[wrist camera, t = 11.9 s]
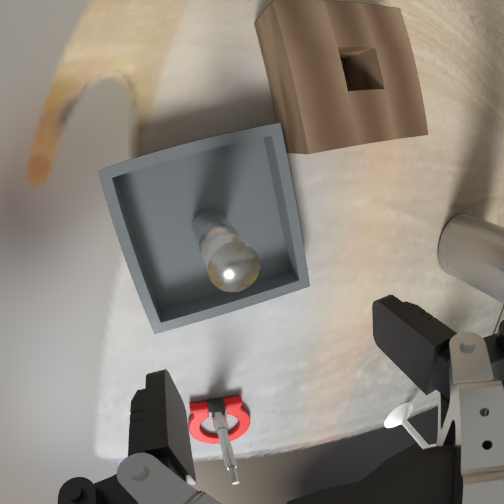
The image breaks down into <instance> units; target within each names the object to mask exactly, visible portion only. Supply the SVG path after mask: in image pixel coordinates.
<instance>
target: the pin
mask: <svg viewBox="0 0 504 504" xmlns="http://www.w3.org/2000/svg"><path fill="white" fill-rule="evenodd" d="M192 231H193V234H194V236H195V239H196V242H197V245H198V248H199V250H200V253H201V256H202V259H203V261H204V264H205V267H206V270H207V272H208V275H209V278H210V280H211V282H212V283H213V284H214V285H215V286H216V287H217V288H219V289H221V290H223V291H226V292H238V291H242V290H244V289H246V288H248V287H249V286H250V285H251V284H252V283H253V282H254V281H255V280H256V278H257V276H258V274H259V271H260V260H259V256H258V254H257V253H256V251H255V250H254V249H253V248H252V247H251V246H250V244H249V243H248V242H247V241H246V240H245V239H244V238H243V237H242V236H241V235H240V234H239V233H238V232H237V231H236V229H235V228H234V227H233V226H232V225H231V224H230V223H229V222H228V221H227V220H226V219H225V218H224V217H223V216H222V214H221V213H219V212H218V211H216V210H214V209H204V210H201V211H200V212H198V213H197V214H196V215H195V217H194V218H193V221H192Z"/></svg>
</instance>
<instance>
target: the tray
mask: <svg viewBox="0 0 504 504" xmlns="http://www.w3.org/2000/svg"><path fill="white" fill-rule="evenodd" d="M98 173H99V176H100V180H101V184H102V187H103V191H104V194H105V198H106V201H107V204H108V208H109V211H110V214H111V217H112V221H113V224H114V227H115V230H116V233H117V236H118V239H119V242H120V245H121V248H122V251H123V254H124V257H125V260H126V263H127V265H128V268H129V271H130V274H131V276H132V279H133V282H134V284H135V287H136V290H137V292H138V295H139V297H140V300H141V302H142V305H143V307H144V310H145V312H146V315H147V317H148V320H149V322H150V324H151V327H152V329H153V331H154V334H157V333H160V332H164V331H167V330H171V329H174V328H178V327H181V326H185V325H188V324H192V323H195V322H199V321H202V320H205V319H209V318H212V317H215V316H219V315H222V314H225V313H229V312H232V311H235V310H238V309H242V308H245V307H248V306H251V305H254V304H257V303H261V302H264V301H267V300H270V299H273V298H276V297H279V296H282V295H285V294H288V293H291V292H294V291H297V290H300V289H303V288H306V287H309V286H310V283H309V276H308V270H307V264H306V257H305V251H304V245H303V239H302V233H301V227H300V222H299V216H298V210H297V205H296V199H295V194H294V189H293V183H292V178H291V173H290V168H289V163H288V158H287V153H286V148H285V143H284V138H283V133H282V129H281V124H280V123H276V124H271V125H266V126H260V127H255V128H250V129H246V130H241V131H236V132H232V133H227V134H223V135H218V136H214V137H210V138H206V139H202V140H198V141H194V142H190V143H186V144H182V145H178V146H175V147H171V148H167V149H164V150H160V151H157V152H154V153H150V154H147V155H143V156H140V157H137V158H134V159H130V160H127V161H124V162H121V163H118V164H115V165H112V166H109V167H106V168H103V169H101V170H98ZM204 209H214V210H216V211H218V212H219V213H221V214H222V216H223V217H224V218H225V219H226V220H227V221H228V222H229V223H230V224H231V225H232V226H233V227H234V228H235V229H236V231H237V232H238V233H239V234H240V235H241V236H242V237H243V238H244V239H245V240H246V241H247V242H248V243H249V244H250V246H251V247H252V248H253V249H254V250H255V251H256V253H257V254H258V256H259V260H260V271H259V274H258V276H257V278H256V280H255V281H254V282H253V283H252V284H251V285H250V286H249V287H248V288H246V289H244V290H242V291H238V292H226V291H223V290H221V289H219V288H217V287H216V286H215V285H214V284H213V283H212V282H211V280H210V278H209V275H208V272H207V270H206V267H205V264H204V261H203V259H202V256H201V253H200V250H199V248H198V245H197V242H196V239H195V236H194V234H193V231H192V221H193V218H194V217H195V215H196V214H197V213H198V212H200V211H201V210H204Z"/></svg>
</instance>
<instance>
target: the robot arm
mask: <svg viewBox="0 0 504 504" xmlns="http://www.w3.org/2000/svg"><path fill="white" fill-rule="evenodd" d="M438 259H439V263H440V266H441V268H442V269H443V270H444V271H445V272H447V273H449V274H450V275H452V276H454V277H456V278H458V279H460V280H462V281H463V282H465V283H467V284H469V285H471V286H472V287H474V288H476V289H478V290H480V291H482V292H483V293H485V294H487V295H489V296H491V297H492V298H494V299H496V300H498V301H499V302H501V303H503V304H504V227H502V226H499V225H496V224H493V223H490V222H487V221H485V220H482V219H479V218H476V217H472V216H469V215H466V214H459V215H456V216H455V217H453V218H452V219H451V220H450V221H449V222H448V224H447V225H446V227H445V229H444V231H443V233H442V236H441V239H440V243H439V249H438ZM372 309H373V336H374V340H375V342H376V344H377V346H378V347H379V348H380V349H381V350H382V351H383V352H384V353H385V354H386V355H387V356H388V357H389V358H390V359H391V360H392V361H393V362H394V363H395V364H396V365H397V366H398V367H399V368H400V369H401V370H402V371H403V372H404V373H405V374H406V375H407V376H408V377H409V378H410V379H411V380H412V381H413V382H414V383H415V384H416V385H417V386H418V387H419V388H420V389H421V390H422V391H423V392H424V393H425V394H426V395H428V394H429V393H431V392H433V391H434V390H436V389H437V390H438V391H439V396H438V438H437V443H436V446H434V447H429V448H424V449H421V447H420V446H419V445H418V444H417V443H415V444H413V445H411V446H410V447H408V448H407V449H405V450H403V451H401V452H399V453H398V454H396V455H394V456H392V457H390V458H388V459H387V460H386V461H385V462H384V463H382V464H381V465H380V466H379V467H378V468H376V469H375V470H374V471H373V472H372V473H370V474H369V475H368V476H367V477H365V478H364V479H363V480H361V481H359V482H355V483H351V484H346V485H341V486H336V487H331V488H326V489H321V490H318V491H316V492H313V493H311V494H308V495H305V496H302V497H299V498H297V499H294V500H291V501H288V502H287V503H288V504H504V320H503V321H502V322H501V323H500V325H499V329H498V333H497V334H494V335H491V336H488V337H484V338H482V337H481V336H480V335H478V334H476V333H472V332H461V333H458V334H457V333H456V332H454V331H453V330H451V329H450V328H449V327H447V326H446V325H445V324H443V323H442V322H440V321H439V320H438V319H436V318H435V317H434V318H433V316H432V315H430V314H429V313H428V312H427V313H426V311H425V310H423V309H422V308H421V307H419V306H418V305H415V304H412V303H409V302H406V301H405V302H402V301H400V300H399V299H398V298H396V297H395V296H393V295H388V296H386V297H383V298H381V299H378V300H376V301H374V302H373V306H372ZM130 412H131V414H130V427H129V447H128V457H127V458H125V459H124V460H123V461H122V462H121V463H120V465H119V467H118V469H117V474H116V475H114V476H112V477H110V478H107V479H105V480H102V481H100V482H97V483H95V484H93V483H92V482H91V481H90V480H88V479H86V478H84V477H76V478H72V479H70V480H68V481H67V482H65V483H64V484H63V486H62V487H61V489H60V491H59V495H58V504H222V503H220V502H219V501H217V500H216V499H214V498H213V497H211V496H210V495H208V494H207V493H205V492H203V491H200V492H199V491H197V490H196V489H194V488H193V487H192V486H190V485H195V484H196V478H195V472H194V466H193V459H192V452H191V445H190V438H189V431H188V423H187V415H186V410H185V406H184V403H183V401H182V398H181V396H180V394H179V392H178V390H177V388H176V386H175V384H174V382H173V380H172V378H171V376H170V374H169V372H168V371H167V370H166V369H165V370H161V371H157V372H153V373H149V374H147V375H146V389H142V390H137V392H136V394H135V396H134V397H133V399H132V401H131V411H130Z"/></svg>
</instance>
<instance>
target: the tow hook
mask: <svg viewBox="0 0 504 504" xmlns="http://www.w3.org/2000/svg"><path fill="white" fill-rule="evenodd" d="M241 406H242V400H241V397H240V396H235V397H229V398H219V399H212V400H207V401H205V402H198V403H191V404H190V411H191V414H193V415H192V416H191V418H190V420H189V424H188V427H189V431H190V434H191V435H192V436H193V437H194V438H196V439H197V440H199V441H202V442H205V443H212V444H216V443H220V445H221V449H222V453H223V457H224V461H225V465H226V469H227V470H229V473H230V477H231V480H232V484H238V483H239V478H238V475H237V471H236V468H237V464H236V461H235V457H234V454H233V450H232V446H231V443H230V441H232V440H234V439H236V438H238V437H240V436H241V435H243V434H244V433H245V432H246V431H247V429H248V428H249V425H250V417H249V414H248V413H247V411H246V410H245V409H244V408H242V407H241ZM208 411H209V414H208ZM227 414H230V415H233V416H235V417H237V418H238V420H239V422H238V425H237V426H236V427H235V428H234V429H233V430H231V431H230V432H228V430H229V427H228V424H227V420H226V418H227ZM209 415H210V420H213V424H214V429H215V432H216V433H218V434H217V435H214V434H208V433H206V432H204V431H202V429H201V428H200V425H201V423H202V422H203V421H204V420H205V419H206V418H208V417H209Z"/></svg>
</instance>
